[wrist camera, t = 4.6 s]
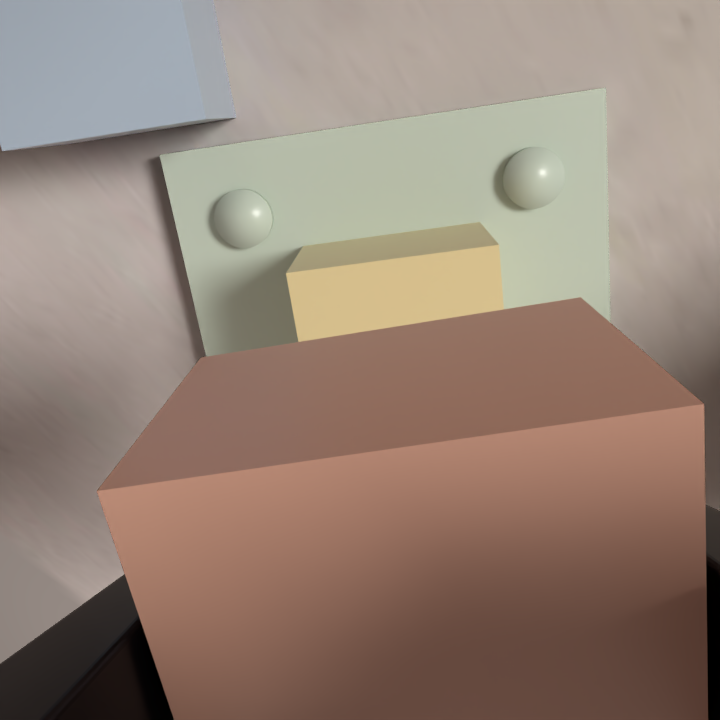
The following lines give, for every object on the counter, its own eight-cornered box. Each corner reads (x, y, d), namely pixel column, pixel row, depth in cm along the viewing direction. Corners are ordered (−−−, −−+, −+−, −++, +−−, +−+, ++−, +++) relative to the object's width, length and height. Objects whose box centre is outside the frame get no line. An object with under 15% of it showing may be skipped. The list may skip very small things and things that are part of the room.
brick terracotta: (580, 296, 9) (704, 404, 5) (603, 617, 10) (709, 852, 7) (200, 356, 9) (95, 491, 6) (279, 655, 11) (233, 894, 7)
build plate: (598, 88, 18) (655, 81, 14) (607, 453, 22) (654, 525, 18) (165, 153, 19) (110, 163, 15) (243, 491, 23) (214, 568, 19)
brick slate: (197, -89, 17) (152, -135, 14) (237, 117, 19) (206, 118, 16) (12, -54, 18) (-74, -92, 14) (67, 144, 19) (2, 151, 16)
